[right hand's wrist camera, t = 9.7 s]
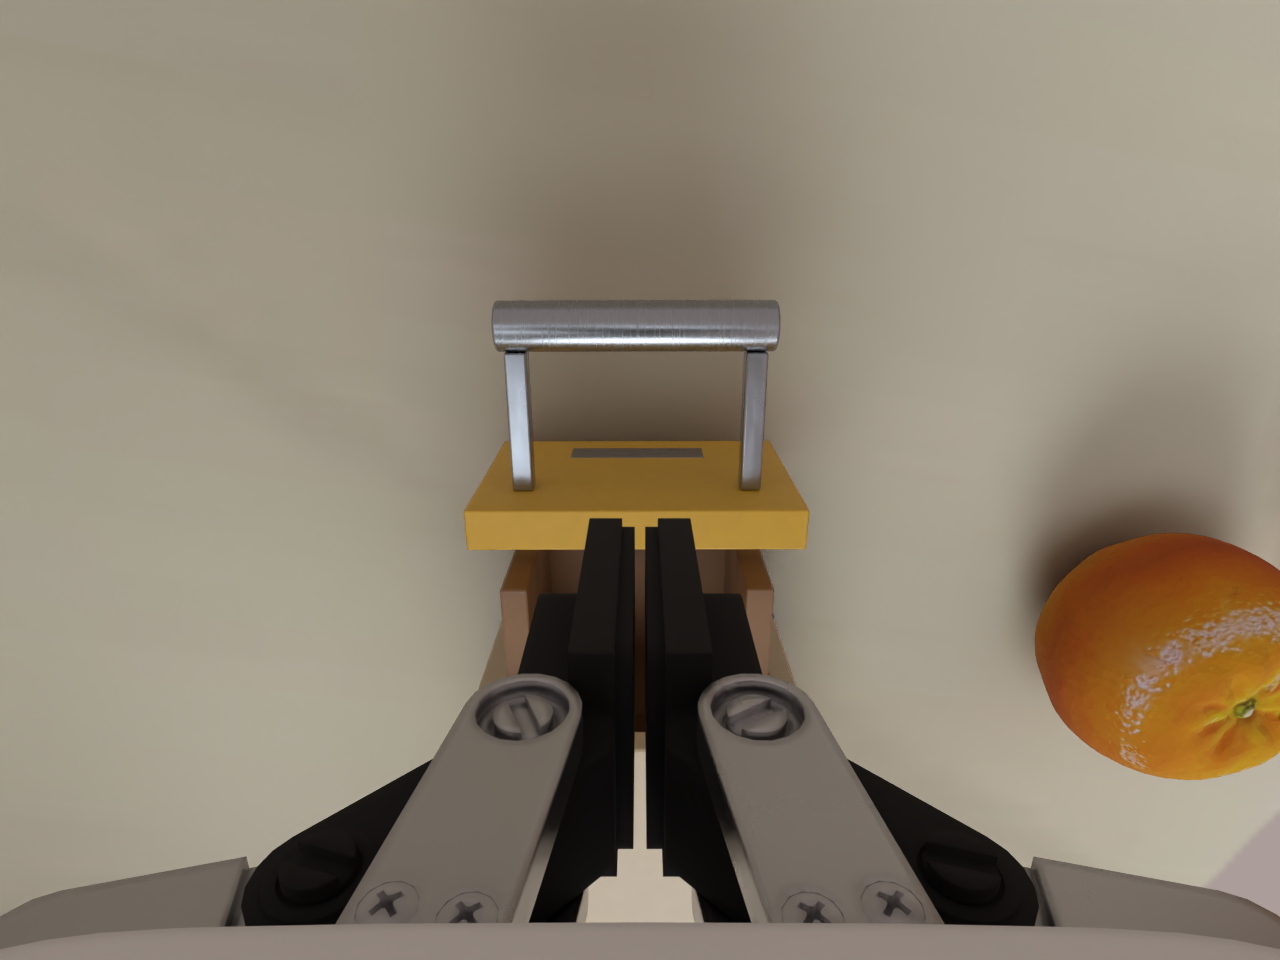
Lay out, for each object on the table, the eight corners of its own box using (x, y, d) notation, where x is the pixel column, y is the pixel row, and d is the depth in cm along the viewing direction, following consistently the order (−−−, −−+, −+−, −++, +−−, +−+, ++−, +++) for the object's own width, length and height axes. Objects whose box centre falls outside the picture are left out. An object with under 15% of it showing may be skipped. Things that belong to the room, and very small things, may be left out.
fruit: (1214, 801, 28) (1372, 859, 20) (983, 713, 30) (1046, 734, 22) (1266, 593, 29) (1434, 572, 21) (1040, 523, 31) (1118, 482, 24)
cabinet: (505, 606, 29) (456, 750, 21) (770, 605, 29) (818, 749, 21) (523, 850, 34) (488, 1043, 26) (753, 849, 34) (788, 1042, 26)
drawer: (493, 284, 24) (444, 308, 18) (779, 283, 24) (827, 308, 18) (523, 712, 30) (493, 840, 24) (753, 712, 30) (781, 839, 24)
